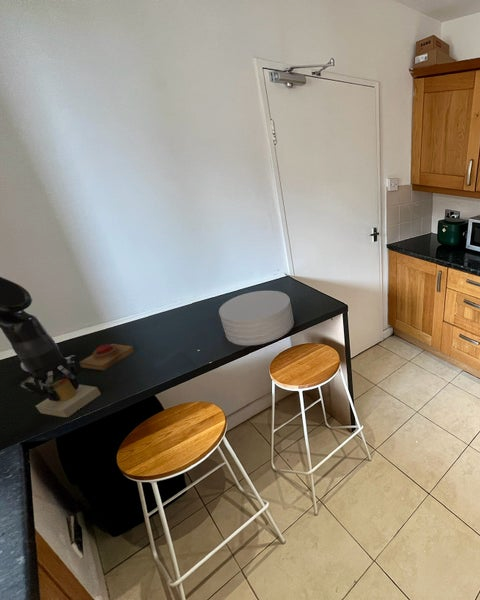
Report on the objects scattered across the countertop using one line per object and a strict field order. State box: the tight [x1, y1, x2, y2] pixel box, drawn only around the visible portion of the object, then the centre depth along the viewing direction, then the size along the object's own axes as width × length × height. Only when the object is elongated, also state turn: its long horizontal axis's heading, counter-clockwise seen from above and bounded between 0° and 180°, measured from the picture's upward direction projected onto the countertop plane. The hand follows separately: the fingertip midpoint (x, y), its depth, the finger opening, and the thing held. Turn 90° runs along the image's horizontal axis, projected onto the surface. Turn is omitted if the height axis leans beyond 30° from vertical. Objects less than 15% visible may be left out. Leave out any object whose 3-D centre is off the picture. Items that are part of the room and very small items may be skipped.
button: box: [95, 343, 112, 354], centre depth 117 cm, size 4×4×2 cm
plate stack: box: [218, 290, 295, 346], centre depth 136 cm, size 28×28×12 cm
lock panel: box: [35, 384, 102, 419], centre depth 98 cm, size 10×10×3 cm
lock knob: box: [53, 378, 77, 401], centre depth 96 cm, size 4×4×5 cm
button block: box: [79, 343, 135, 371], centre depth 118 cm, size 12×10×4 cm
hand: (66, 394), depth 97 cm, fingers closed on lock knob, 4 cm apart
